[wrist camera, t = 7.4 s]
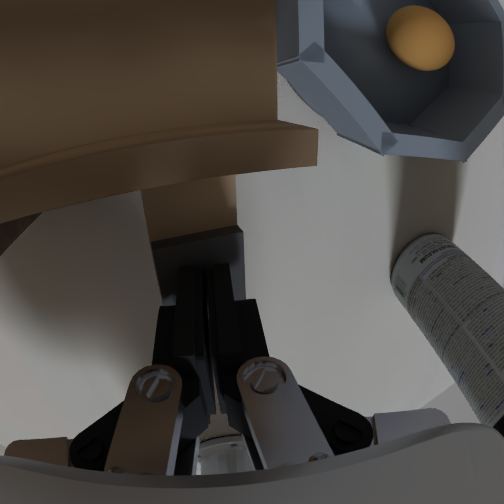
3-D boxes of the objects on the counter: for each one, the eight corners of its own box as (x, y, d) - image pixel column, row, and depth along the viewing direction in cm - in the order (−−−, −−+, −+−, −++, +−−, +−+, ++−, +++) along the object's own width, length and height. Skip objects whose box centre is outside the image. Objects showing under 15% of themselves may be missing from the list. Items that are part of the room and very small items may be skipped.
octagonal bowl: (445, 143, 18) (504, 168, 13) (268, 133, 17) (296, 154, 12) (445, -19, 12) (502, -30, 7) (264, -65, 11) (288, -114, 5)
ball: (410, 62, 11) (374, 64, 15) (468, 79, 11) (428, 75, 15) (407, -9, 9) (372, 4, 13) (466, 14, 9) (427, 19, 13)
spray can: (420, 305, 26) (534, 478, 9) (372, 288, 24) (504, 510, 7) (460, 246, 23) (606, 408, 6) (417, 218, 21) (606, 421, 4)
